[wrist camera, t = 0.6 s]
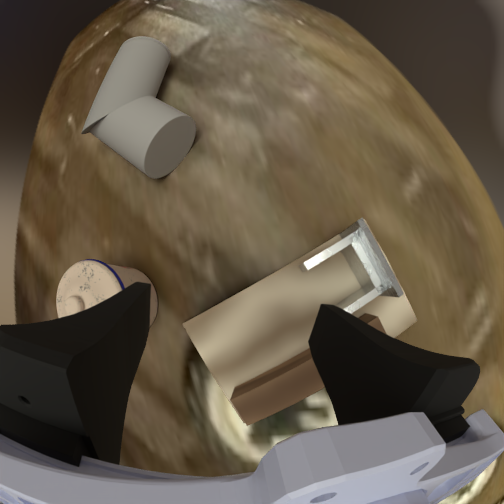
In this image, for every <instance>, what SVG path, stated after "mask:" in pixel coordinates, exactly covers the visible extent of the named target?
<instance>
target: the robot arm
mask: <svg viewBox="0 0 504 504" xmlns="http://www.w3.org/2000/svg"><path fill="white" fill-rule="evenodd" d="M150 299H151V284H150V283H143V282H135V283H133V284H131V285H130V286H128V287H126V288H125V289H123V290H122V291H120V292H118V293H117V294H115V295H113V296H112V297H110V298H108V299H106V300H104V301H102V302H100V303H98V304H96V305H95V306H92V307H90V308H88V309H86V310H83V311H80V312H78V313H75V314H72V315H69V316H65V317H61V318H58V319H54V320H50V321H44V322H38V323H31V324H15V325H1V326H0V502H2V503H4V504H437V503H439V502H440V501H442V500H444V499H445V498H447V497H448V496H450V495H451V494H453V493H455V492H456V491H458V490H459V489H461V488H462V487H463V486H465V485H466V484H468V483H469V482H471V481H472V480H474V479H475V478H476V477H477V476H478V475H479V474H480V473H482V472H483V471H484V470H485V469H486V468H487V467H488V466H489V465H490V464H491V463H492V462H493V461H494V460H495V459H496V458H497V457H498V456H499V455H500V454H501V453H502V452H503V451H504V433H503V432H502V431H501V430H500V428H499V427H498V426H497V425H496V424H495V422H494V421H493V420H492V419H491V418H490V416H489V415H488V414H487V413H486V412H485V411H484V410H483V409H482V410H479V411H477V412H475V413H473V414H471V415H469V416H468V417H467V418H466V419H464V418H463V417H462V414H463V413H464V408H463V407H462V406H461V405H462V403H463V402H464V401H465V399H466V398H467V396H468V395H469V393H470V392H471V390H472V389H473V387H474V386H475V384H476V382H477V380H478V378H479V374H480V366H479V365H478V364H477V363H476V362H475V361H474V360H472V359H470V358H463V357H455V356H448V355H443V354H439V353H434V352H431V351H427V350H424V349H421V348H418V347H415V346H412V345H409V344H407V343H404V342H402V341H400V340H397V339H395V338H393V337H391V336H389V335H387V334H385V333H383V332H381V331H379V330H377V329H376V328H374V327H372V326H370V325H369V324H367V323H365V322H364V321H362V320H360V319H359V318H357V317H355V316H354V315H352V314H350V313H349V312H347V311H345V310H343V309H342V308H340V307H337V306H335V305H331V304H321V305H320V308H319V311H318V314H317V317H316V320H315V323H314V326H313V329H312V332H311V335H310V338H309V340H308V343H309V347H310V351H311V355H312V358H313V361H314V364H315V366H316V368H317V370H318V373H319V375H320V377H321V379H322V381H323V384H324V386H325V388H326V390H327V392H328V395H329V397H330V399H331V402H332V404H333V408H334V411H335V414H336V418H337V421H338V425H337V426H329V427H322V428H318V429H314V430H309V431H305V432H300V433H297V434H295V435H293V436H291V437H289V438H287V439H285V440H283V441H281V442H278V443H277V444H276V445H275V446H274V447H273V448H272V449H271V450H270V451H269V452H268V453H267V454H266V455H265V456H264V457H263V458H262V459H261V461H260V463H259V465H258V467H257V469H256V471H255V472H250V473H243V474H236V475H228V476H219V477H200V476H187V475H177V474H168V473H160V472H154V471H147V470H142V469H136V468H131V467H126V466H121V465H119V462H120V451H121V441H122V433H123V426H124V420H125V413H126V408H127V402H128V397H129V393H130V389H131V385H132V382H133V380H134V377H135V374H136V371H137V368H138V365H139V362H140V360H141V357H142V354H143V351H144V348H145V346H146V341H147V337H148V332H149V327H150Z"/></svg>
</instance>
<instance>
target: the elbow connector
mask: <svg viewBox="0 0 504 504" xmlns="http://www.w3.org/2000/svg"><path fill="white" fill-rule="evenodd" d="M170 59H171V53H170V51H169V49H168V47H167V46H166V45H165V44H164V43H162V42H161V41H159V40H157V39H154V38H151V37H144V36H140V37H134V38H131V39H128V40H127V41H125V42H124V43H123V44H122V46H121V48H120V49H119V51H118V53H117V55H116V57H115V59H114V60H113V62H112V64H111V66H110V68H109V70H108V72H107V74H106V76H105V78H104V80H103V82H102V85H101V87H100V89H99V91H98V93H97V96H96V98H95V100H94V102H93V105H92V107H91V110H90V112H89V115H88V117H87V120H86V122H85V125H84V128H83V130H82V134H86V133H89V132H90V133H92V134H93V135H94V136H96V137H97V138H98V139H100V140H101V141H102V142H104V143H105V144H106V145H107V146H109V147H110V148H111V149H113V150H114V151H115V152H117V153H118V154H119V155H121V156H122V157H123V158H125V159H126V160H127V161H129V162H130V163H131V164H133V165H134V166H135V167H137V168H138V169H139V170H141V171H142V172H143V173H145V174H146V175H147V176H149V177H150V178H161V177H163V176H165V175H167V174H169V173H170V172H171V171H173V170H174V169H175V168H176V167H177V166H178V165H179V163H180V162H181V161H182V160H183V159H184V157H185V156H186V155H187V153H188V152H189V150H190V148H191V146H192V144H193V141H194V138H195V134H196V124H195V121H194V120H193V118H191V117H190V116H188V115H186V114H185V113H183V112H181V111H179V110H177V109H175V108H174V107H172V106H170V105H168V104H166V103H164V102H162V101H160V100H159V99H157V98H156V96H157V93H158V90H159V87H160V85H161V82H162V79H163V77H164V74H165V72H166V69H167V67H168V64H169V62H170Z"/></svg>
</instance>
